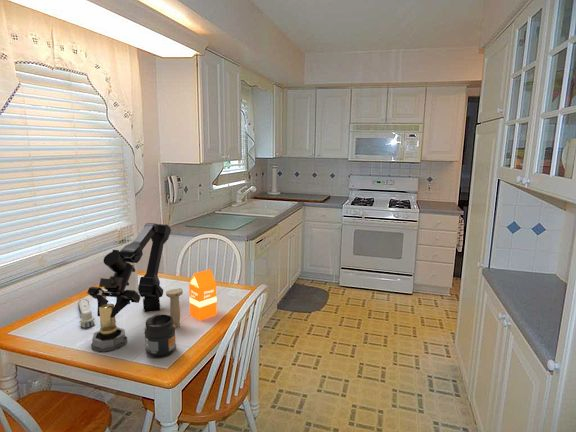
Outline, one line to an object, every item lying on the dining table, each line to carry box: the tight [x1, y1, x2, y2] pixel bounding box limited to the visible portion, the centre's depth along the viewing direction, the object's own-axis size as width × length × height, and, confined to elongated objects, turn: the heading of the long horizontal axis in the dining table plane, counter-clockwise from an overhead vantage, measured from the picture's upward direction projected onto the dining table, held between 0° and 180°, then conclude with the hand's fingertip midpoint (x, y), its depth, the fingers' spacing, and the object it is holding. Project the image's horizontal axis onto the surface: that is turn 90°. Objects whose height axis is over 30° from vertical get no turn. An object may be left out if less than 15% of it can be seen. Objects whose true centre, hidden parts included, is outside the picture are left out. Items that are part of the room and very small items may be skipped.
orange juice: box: [188, 269, 218, 322], centre depth 163 cm, size 8×9×20 cm
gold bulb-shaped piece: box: [99, 303, 118, 336], centre depth 138 cm, size 6×6×10 cm
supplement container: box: [143, 313, 177, 359], centre depth 134 cm, size 10×10×12 cm
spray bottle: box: [124, 262, 139, 294], centre depth 185 cm, size 7×7×25 cm
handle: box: [165, 288, 184, 328], centre depth 153 cm, size 5×6×15 cm
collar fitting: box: [90, 326, 128, 353], centre depth 139 cm, size 12×12×4 cm
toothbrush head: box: [77, 297, 95, 328], centre depth 161 cm, size 5×7×25 cm
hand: (105, 316), depth 136 cm, fingers closed on gold bulb-shaped piece, 5 cm apart
